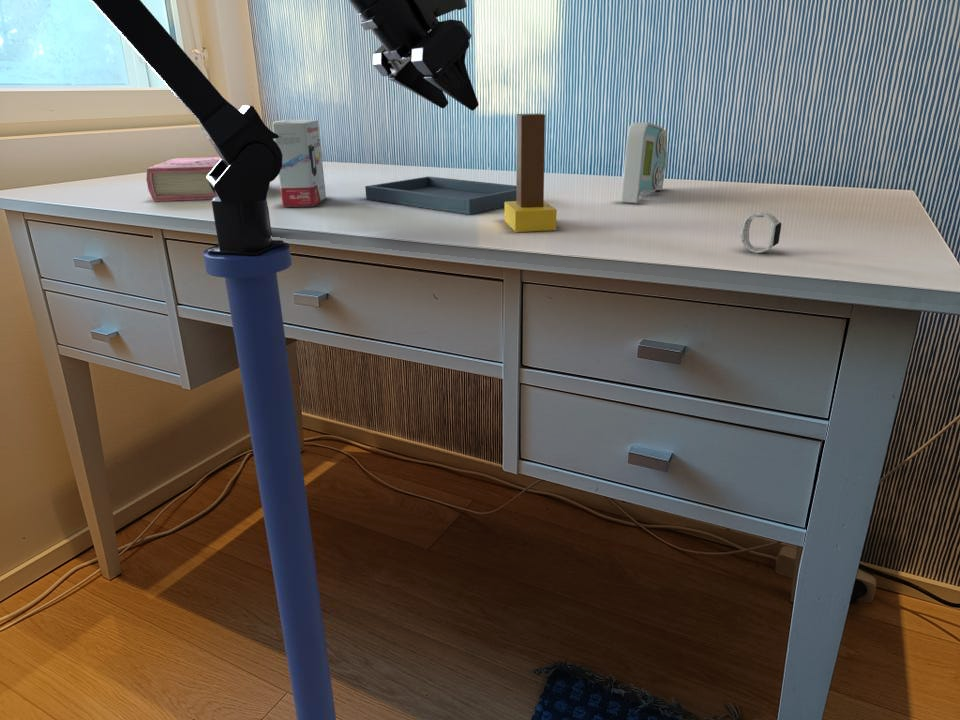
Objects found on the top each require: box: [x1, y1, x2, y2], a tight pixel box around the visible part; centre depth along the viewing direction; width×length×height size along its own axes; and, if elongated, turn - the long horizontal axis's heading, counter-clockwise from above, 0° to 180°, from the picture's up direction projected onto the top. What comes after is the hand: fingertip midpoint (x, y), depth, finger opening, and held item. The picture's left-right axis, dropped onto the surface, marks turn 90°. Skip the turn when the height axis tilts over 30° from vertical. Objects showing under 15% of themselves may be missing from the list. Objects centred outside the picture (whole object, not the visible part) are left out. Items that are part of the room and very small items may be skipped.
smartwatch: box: [739, 211, 782, 254], centre depth 70 cm, size 4×2×4 cm, turn 52°
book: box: [145, 156, 221, 202], centre depth 114 cm, size 14×15×5 cm
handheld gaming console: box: [620, 121, 669, 205], centre depth 103 cm, size 11×3×15 cm
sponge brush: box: [504, 113, 558, 233], centre depth 82 cm, size 5×7×13 cm
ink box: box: [271, 119, 327, 208], centre depth 102 cm, size 9×5×12 cm, turn 179°
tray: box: [364, 175, 516, 215], centre depth 103 cm, size 22×14×2 cm, turn 49°
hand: (459, 106), depth 86 cm, fingers open, 9 cm apart
